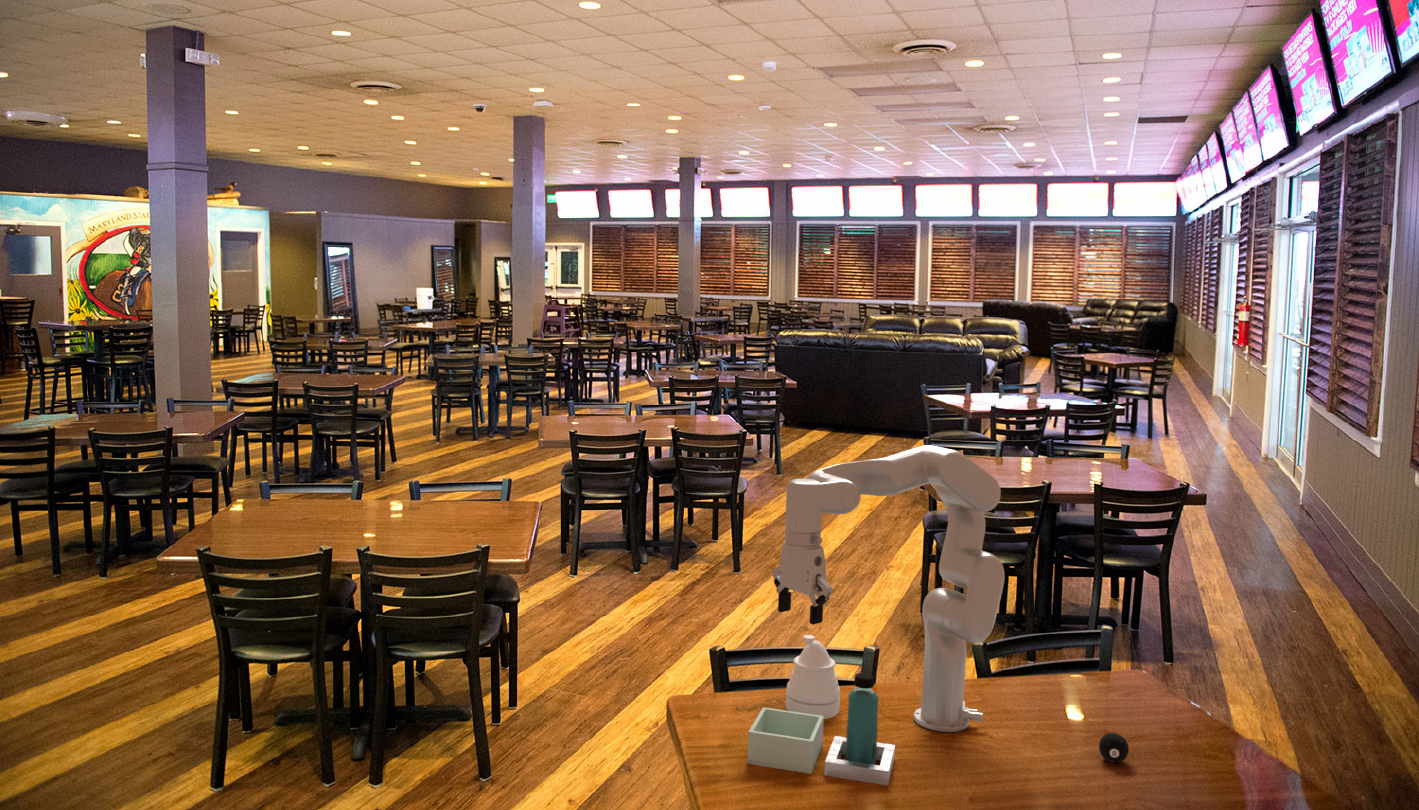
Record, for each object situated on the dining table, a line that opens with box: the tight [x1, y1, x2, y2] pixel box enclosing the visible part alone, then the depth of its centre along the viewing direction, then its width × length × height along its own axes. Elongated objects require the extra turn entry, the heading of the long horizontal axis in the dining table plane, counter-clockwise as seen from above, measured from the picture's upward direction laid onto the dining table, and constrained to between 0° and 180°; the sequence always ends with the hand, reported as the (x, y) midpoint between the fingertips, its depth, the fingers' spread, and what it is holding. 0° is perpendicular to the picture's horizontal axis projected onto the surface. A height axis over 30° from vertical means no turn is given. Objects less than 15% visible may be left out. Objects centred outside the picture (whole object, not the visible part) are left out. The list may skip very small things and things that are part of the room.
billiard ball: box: [1098, 732, 1130, 763], centre depth 222 cm, size 6×6×6 cm
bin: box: [746, 706, 825, 775], centre depth 220 cm, size 14×14×7 cm
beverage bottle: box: [844, 672, 880, 765], centre depth 215 cm, size 6×7×20 cm
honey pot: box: [785, 634, 841, 720], centre depth 245 cm, size 13×13×18 cm
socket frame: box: [823, 735, 896, 787], centre depth 215 cm, size 13×13×3 cm
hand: (799, 617), depth 217 cm, fingers open, 9 cm apart
